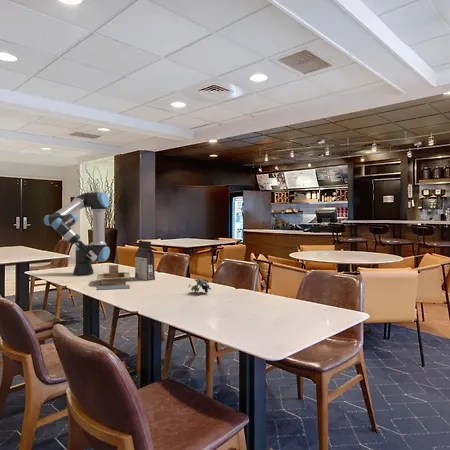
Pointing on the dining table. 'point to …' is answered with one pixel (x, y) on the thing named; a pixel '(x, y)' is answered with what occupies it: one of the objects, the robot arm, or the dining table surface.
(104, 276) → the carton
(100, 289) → the mat
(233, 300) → the dining table surface
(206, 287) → the passion flower
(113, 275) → the box
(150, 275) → the coffee bag
